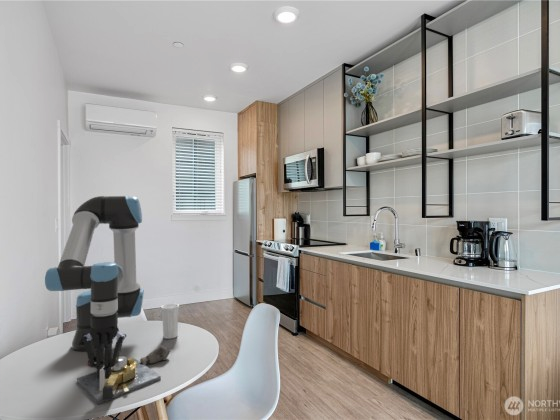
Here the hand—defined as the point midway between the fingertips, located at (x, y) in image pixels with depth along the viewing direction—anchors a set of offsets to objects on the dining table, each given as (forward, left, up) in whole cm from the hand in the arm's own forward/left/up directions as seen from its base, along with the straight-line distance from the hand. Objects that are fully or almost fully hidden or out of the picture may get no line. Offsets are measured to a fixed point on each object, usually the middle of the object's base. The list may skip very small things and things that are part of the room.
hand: (103, 388), depth 105 cm
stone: (-11, +23, -3) cm, 25 cm away
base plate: (-7, +7, -3) cm, 10 cm away
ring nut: (-3, +5, -1) cm, 6 cm away
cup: (-30, +39, -3) cm, 50 cm away
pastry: (-28, +8, -3) cm, 29 cm away
